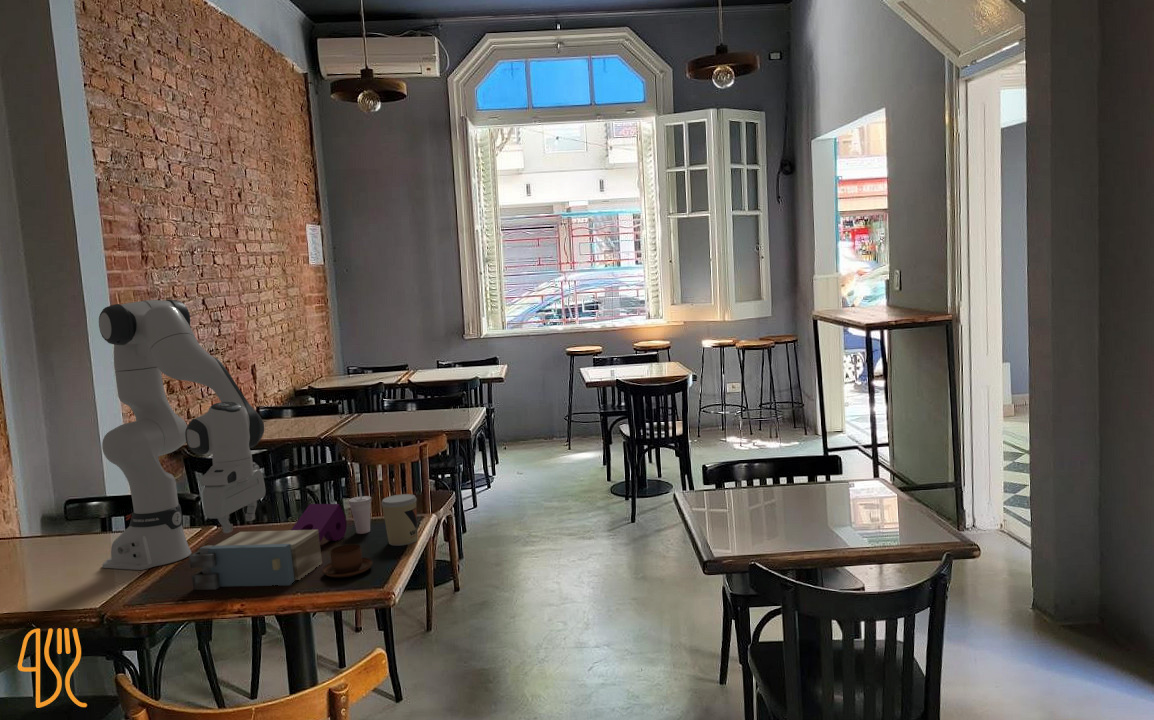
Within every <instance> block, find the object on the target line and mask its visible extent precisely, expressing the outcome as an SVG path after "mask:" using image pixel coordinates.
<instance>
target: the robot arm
mask: <svg viewBox="0 0 1154 720" xmlns="http://www.w3.org/2000/svg"><path fill="white" fill-rule="evenodd" d="M191 321H192V320H191V314H190V311H189V308H188V306H186V305H185V303H184V302H182V301H180V300H175V299H165V300H163V299H160V300H159V299H158V300H156V299H149V300H147V299H146V300H141V301H133V302H128V303H122V304H119V303H116V304H112V305H109V306H106V307H103V309H102V310H101V312H100V314H99V317H98V327H99V331H100V334H101V337H102V338H103V339H104V341H106V342H107V344H110V345H113V366H114V374H115V382H116V389H117V397H118V399H119V401H120V402H121V403H122V404H124V405H126V406H128V407H129V408H130V409H131V410H132V413H133V415H134V416H135V417H134V418H135V421H131V422H126V423H123V424H120V425H119V426H117V427H115V428H113V429H112V430H109V431H108V432H107V433H106V434H105V435H104V437H103V439H102V442H101V445H102V446H101V447H102V452H103V455H104V457H105V458H106V459H107V460H108V461H109V462H110V463H111V464H113V465H115V466H116V467H118V468H119V469H120V470H121V472H122V473H123V474H124V476H125V478H126V480H127V482H128V485H129V489H130V494H131V499H132V500H131V501H132V507H133V511H132V512H131V513H130V514H128V515H126V516H125V521H129V520H130V522H129V526H128V527H127V528H126V529H125V530H124V531H123V532H122V533H120V534H119V536H118V537H117V538H116V539H115V540H114V541H113V542H112V543H111V548H110V557H109V558H108V559H106V560H104V562H103V563H102V568H103V569H104V568H105V569H116V570H118V569H119V570H132V571H134V570H135V571H143V570H147V569H150V568H153V567H158V566H159V567H160V566H163V565H167V564H173V563H175V562H178V561H181V560H183V559H185V558H187V557H189V555H191V554H192V550H191V548H190V546H189V543H188V541H187V539H186V538H187V537H186V534H185V531H184V528H183V513H182V507H181V504H180V503H179V499H178V491H177V484H176V478H175V476H174V475H173V474H171V473H170V472H167V471H165V469H164V468H163V466H162V464H161V463H160V457H161V456H164V455H167V454H171V453H173V452H175V451H177V450H178V449H180V448H182V446H184V445H185V444H186V446H187V447H188V449H189V450H190V451H192V452H193V453H194V454H195V455H198V456H209V455H212V460H211V461H212V465H211V466H210V468H209V469H208V470H207V471H206V473H204V474H203V475H202V476H201V478H200V484H201V486H203V487H204V488H203V490H202V500H203V508H204V513H205V516H206V517H207V519H211V520H213V519H217V520H218V522H219V524H220V525H221V527H222V533H224V534H230V533H231V532H233V531H234V524H233V523H230V515H231V514H232V513H234V512H236V511H238V510H240V509H242V508H245V507H247V508H246V513H245V514H244V516H245V521H246V522H252V521H254V520H256V514H255V513H256V511H257V506H258V502H257V501H259V500H261V499H263V498H265V496H266V491H267V490H266V486H265V485H266V484H265V479H264V476H263V472H262V470H260V466H259V465H258V463H256V462H255V461H253V455H252V454H253V453H252V451H251V449H252V448H255V447H256V446H257V445H258V444H259V442H260V441H261V439H262V437H263V436H264V433H265V424H264V420H263V419H262V417H261V416H260V414H259V412H257V411H256V410H255V409H254V408H253V406H252V405H251V404H250V403H249V401H248V399H247V398H246V397H245V395H244V394H243V392H242V391H241V389H240V388H239V386H238V385H237V383H236V381H235V380H234V379H233V377H232V375H231V374H230V372H229V371H228V369H227V368H226V366H225V365H224V364H223V363H222V362H221V360H220V359H218V358H217V357H215V356H212V355H211V354H210V353H208V351H207V350H205V349H204V348H203V346H202V345H201V344H200V343H199V341H198V340H197V338H196V336H195V334H194V332H193V329H192V327H191ZM162 375H165V376H167V377H169V378H171V379H173V380H174V379H175V380H179V381H185V382H190V383H195V384H196V383H197V384H199V385H203V386H206V387H208V388H209V389H211V390H212V391H214V393H215V394H216V396H217V397H218V399H219V401H220V402H217V403H214V404H212V405H210V407H209V408H208V410H207V412H205V413H204V414H202V415H200V416H198V417H194V418H192V419H191V420H190V421H189V423H188V424H187V423H186V421H185V420H184V418H182V417H181V416H179V415H178V414H176V413H175V411H174V410H173V408H172V407H171V405H170V403H169V400H168V399H167V396H166V392H165V388H164V383H163V382H164V381H163V376H162Z"/></svg>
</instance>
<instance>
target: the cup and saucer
mask: <svg viewBox="0 0 1154 720" xmlns="http://www.w3.org/2000/svg"><path fill="white" fill-rule="evenodd" d="M329 553H330V561H331V562H330V563H328V564H326V565H324V566H323V567H322V569H321V571H322V574H324V575H325V576H327V577H328V578H329V577H330V578H336V579H337V578H339V579H340V578H341V579H342V578H348V577H354V576H357V575H360V574H363V573H364V572H366V571H369V569H370V568H371V567H372V566H373V560H372V559H371V558H368V557H363V554H362V546H361V544H356V543H348V544H343V545H342V544H341V545H338V546H335V547H333V548H331V549H330V551H329Z"/></svg>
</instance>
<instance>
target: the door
mask: <svg viewBox="0 0 1154 720" xmlns="http://www.w3.org/2000/svg"><path fill="white" fill-rule="evenodd" d="M198 549H199V550H200V554H212V553H215V554H216V561H217V565H216V566H214V567H202V568H201V570H202V573H203V574H214V573H218V577H219V585H220V587H257V586H258V587H264V586H266V587H268V586H269V587H270V586H271V587H272V585H274V586H275V585H278V586H291V585H293V584H294V583H295V582H296V581H295V579H294V571H293V562H292V554H291V546H290V544H262V545H224V546H215V545H212V544H210V545H203V546H200V547H199V548H198ZM199 550H198V551H199ZM294 581H295V582H294ZM293 582H294V583H293ZM292 583H293V584H292ZM274 586H273V587H274Z"/></svg>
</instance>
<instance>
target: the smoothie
mask: <svg viewBox="0 0 1154 720" xmlns="http://www.w3.org/2000/svg"><path fill="white" fill-rule="evenodd" d="M358 490H359V496H355V497H352V498H350V499H349V500H348V505H349V506H350V510H351V514H352V518H353V522H354V526H355V530H356V534H359V535H362V534H367V533H371V507H372V505H371V502H372V496H369V495H363V493H362V484H361V483H359V484H358Z"/></svg>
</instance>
